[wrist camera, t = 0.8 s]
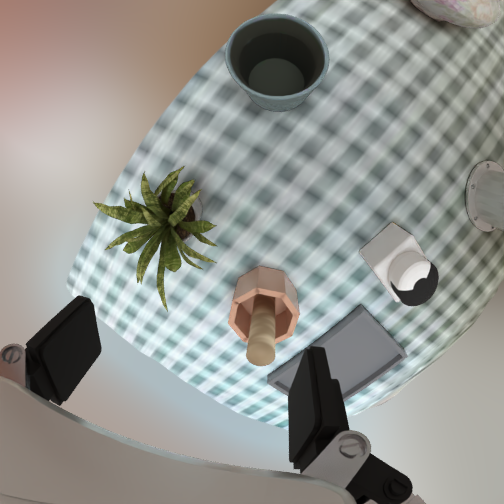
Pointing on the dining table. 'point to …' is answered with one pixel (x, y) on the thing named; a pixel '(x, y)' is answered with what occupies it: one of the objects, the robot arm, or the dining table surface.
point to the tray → (349, 354)
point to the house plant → (162, 226)
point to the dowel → (262, 331)
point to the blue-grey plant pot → (277, 60)
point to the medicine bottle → (401, 265)
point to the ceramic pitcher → (461, 11)
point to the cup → (271, 285)
